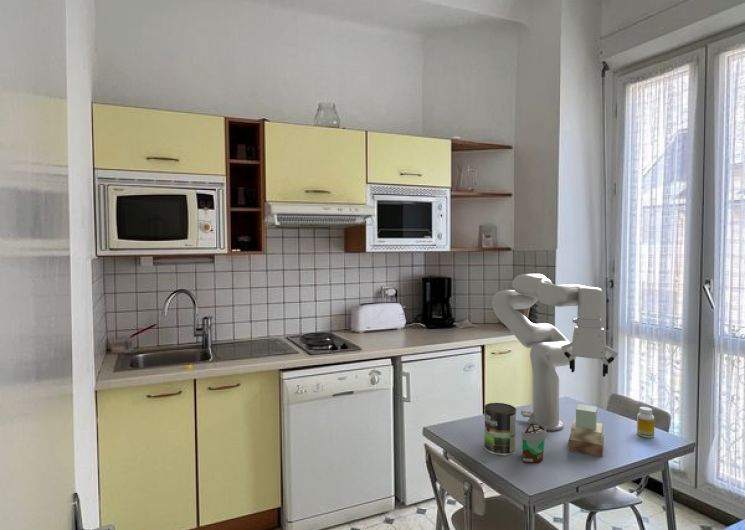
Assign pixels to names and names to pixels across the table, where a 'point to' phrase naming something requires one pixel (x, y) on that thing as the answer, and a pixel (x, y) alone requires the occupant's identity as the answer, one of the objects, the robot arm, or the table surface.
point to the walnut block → (586, 447)
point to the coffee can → (500, 429)
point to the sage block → (586, 416)
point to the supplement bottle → (645, 422)
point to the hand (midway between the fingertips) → (588, 373)
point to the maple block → (587, 434)
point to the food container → (533, 443)
